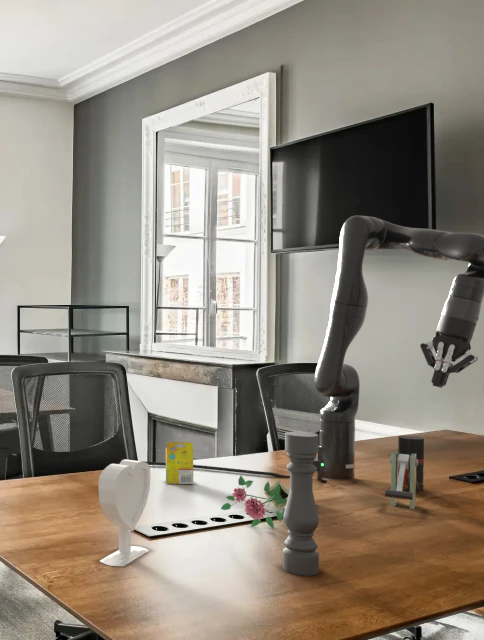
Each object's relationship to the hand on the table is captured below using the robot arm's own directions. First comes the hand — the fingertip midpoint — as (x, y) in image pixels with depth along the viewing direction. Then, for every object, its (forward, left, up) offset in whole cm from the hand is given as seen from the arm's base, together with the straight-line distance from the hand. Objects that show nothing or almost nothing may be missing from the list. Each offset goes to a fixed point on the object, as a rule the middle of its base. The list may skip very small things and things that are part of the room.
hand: (437, 386), depth 179 cm
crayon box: (-62, -7, -30) cm, 69 cm away
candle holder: (-19, -63, -30) cm, 73 cm away
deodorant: (-7, +16, -30) cm, 35 cm away
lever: (-7, -11, -22) cm, 25 cm away
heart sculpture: (-49, -74, -30) cm, 94 cm away
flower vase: (-30, -32, -30) cm, 53 cm away
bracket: (-7, -5, -30) cm, 31 cm away
